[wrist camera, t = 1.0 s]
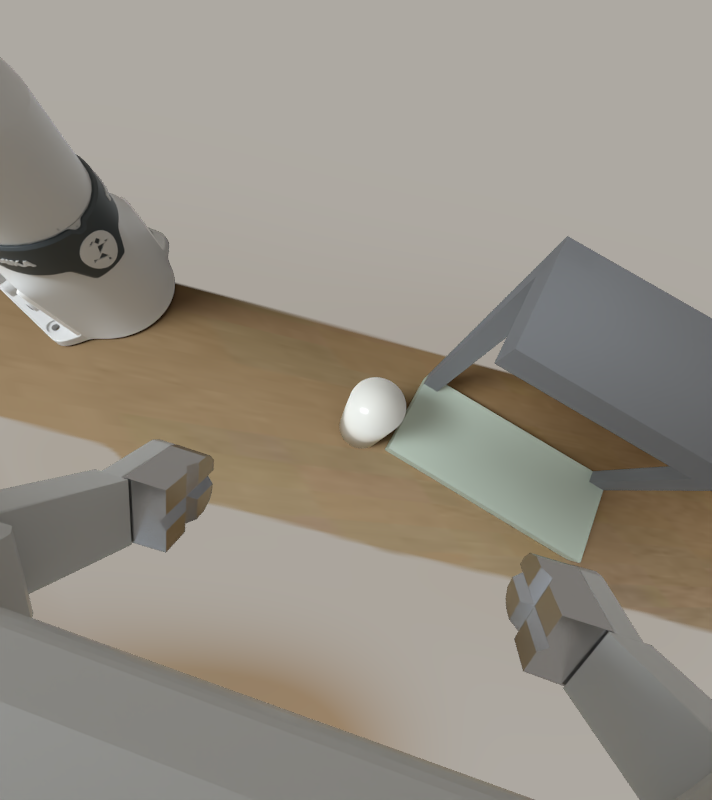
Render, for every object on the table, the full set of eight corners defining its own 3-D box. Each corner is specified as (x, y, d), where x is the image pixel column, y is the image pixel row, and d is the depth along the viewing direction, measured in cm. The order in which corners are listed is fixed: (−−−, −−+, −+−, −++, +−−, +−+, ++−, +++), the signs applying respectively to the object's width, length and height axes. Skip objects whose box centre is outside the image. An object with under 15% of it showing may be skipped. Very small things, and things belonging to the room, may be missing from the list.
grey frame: (384, 449, 41) (496, 388, 16) (423, 379, 44) (567, 236, 19) (567, 559, 40) (983, 675, 15) (593, 479, 43) (973, 467, 18)
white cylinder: (331, 433, 41) (337, 414, 30) (353, 397, 42) (366, 367, 32) (369, 456, 40) (389, 445, 30) (390, 419, 42) (416, 396, 31)
